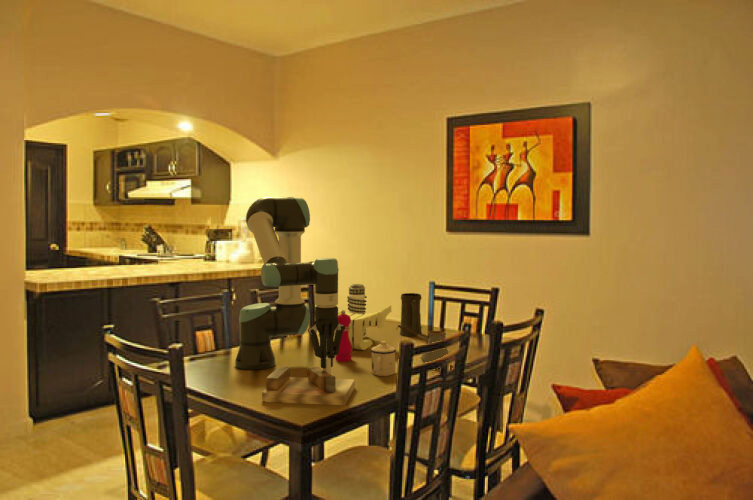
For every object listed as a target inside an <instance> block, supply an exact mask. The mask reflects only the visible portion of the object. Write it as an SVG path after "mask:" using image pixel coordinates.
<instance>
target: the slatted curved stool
mask: <svg viewBox="0 0 753 500" xmlns="http://www.w3.org/2000/svg"><path fill="white" fill-rule="evenodd" d="M341 311H342V309H340V308H338V315H340V314H341ZM344 311H345V312H346V313H345V314H347V315H349V316H350V318H351V323H350V324H349V326H350V327H349V329H350V330H349V332H348V335H349V339H350V342H351V344H352V350H360V351H362V350H363V351H366V349H368V348H370V347H371V346H373V344H374V343H373V341H372V339H370V338H369V339H368V338H363V335H364V332H366V331H367V330H366V329H367V328H370V327H371V328H376V327H377V328H378V329H384V328H385V323H386V318H387V316H389V314H390V313H391V312H392V305H389V306H388V307H385V308H383V309H381V310H378V311H376V312H370V313H365V314H364V315H363V314H354V315H353V313H349V312H348V311H346V310H344ZM336 330H337V329H336ZM336 330H335V331H334V335H335V333H336ZM365 330H366V331H365Z"/></svg>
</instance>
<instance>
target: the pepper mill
mask: <svg viewBox="0 0 753 500" xmlns="http://www.w3.org/2000/svg"><path fill="white" fill-rule="evenodd" d="M341 310H342V309H341ZM345 311H346V310H344V309H343V310H342V311H341V314H340V315H338V321H339V324H341V325H343V326H345V329H344V331H343V333H342V338H341V343H340V348H339V353H338V355H335V361H337V362H341V363H342V362H343V363H344V362H350V361H351V360H352V354H351V353H352V352H353V349H352V344H351V342H350V339H349V335H348V332H349V330H350V329H349V327H350V326H349V324H350V323H351V318H350V316H349V315H347V314H345V313H346V312H347V311H346V312H345Z"/></svg>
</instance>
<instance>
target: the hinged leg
mask: <svg viewBox="0 0 753 500" xmlns="http://www.w3.org/2000/svg"><path fill="white" fill-rule="evenodd" d="M307 378H308V381H310V382H311V383H313V384H314V385H316V386H317V387H319V388H320V389H322V390H323V391H326V392H328V393H333V392H335V391H336V386H335V379H336V376H334V375H332V374H331V375H330V374H329V373H327V372H326V371H324V370H323V368H321V367H319V366H313V367H307Z"/></svg>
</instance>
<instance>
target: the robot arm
mask: <svg viewBox="0 0 753 500" xmlns="http://www.w3.org/2000/svg"><path fill="white" fill-rule="evenodd" d="M309 208H310V207H309V206H308V203H307V201H306V200H305V199H304V198H302V197H298V196H297V197H296V196H263V197H261V198H260V197H259V199H256V200H255V201H254V202H253V203H251V205H250V206H249V208H248V209H247V212H246V214H245V215H246V216H245V222H246V223H245V224H246V227H247V229H248V230H249V231H250V232H251V233H252V234H253V237H254V240H255V243H256V245H257V248H258V251H259V254H260V257H261V259H262V262H263V265H262V266H261V270H260V279H261V282H262V283H261V284H262V285H263V286H265V287H274V288H277V287H278V298H277V299H275V301H274V306H272V305H271V303H268V302H263V303H261V302H260V303H253V304H249V305H246V306H244V307H242V308H241V309H240V310H239V317H238V318H239V319H238V322H239V348H238V349H237V354H236V356H235V360H234V361H235V362H234V363H235V365H234V366H235V368H237V367H238V368H237V369H239V368H241V369H240V370H245V369H248V370H250V371H253V370H254V371H255V370H265V369H270V368H272V367H274V366H276V357H275V354H274V351H273V348H272V343H271V338H274V337H284V336H285V337H286V336H293V337H294V336H297V335H302V334H305V332H308V334H309V335H310V338H311V339H310V340H311V345H312V348H313V352H314V355H315V357H317V358H320V368H321V369H322V370H324V371H326V372H327V373H329V374H330V375H332V373H331V372H332V368H333V366H334V358H336V355H338V353H339V348H340V343H341V338H342V333H343V331H344V329H345V326H343V325H341V324H339V321H338V310H339V307H338V304H339V269H340V268H339V262H338V259H337V258H334V257H318V258H316V259H315V261H308V262H302V254H301V253H302V250H301V249H302V235H303V234H304V233H305V232H306V231H305V228H308V227H309V226H310V222H311V214H310V209H309ZM310 285H314V305H315V306H314V323H313V326H312V327H311V328H309V327H310V326H309V325H310V319H311V313H310V307H309V305H308V304H306V301H305V300H304V299H303V297H302V294H301V293H302V286H310ZM336 329H337V330H336ZM335 330H336V333H335V334H334V331H335ZM318 336H319V337H318ZM248 370H247V371H248Z"/></svg>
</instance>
